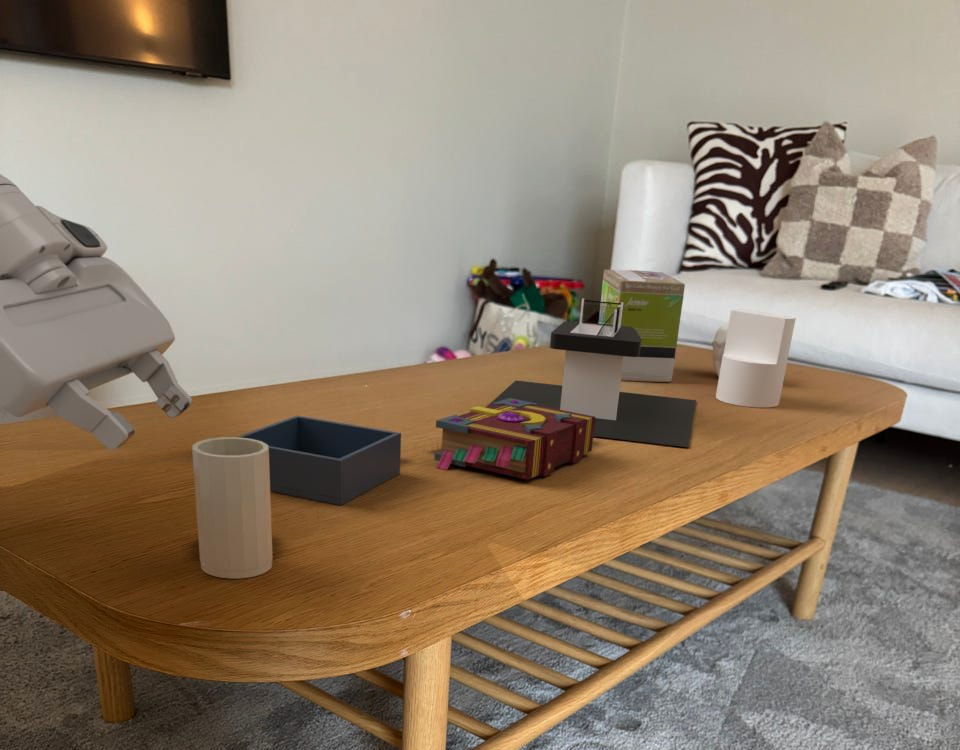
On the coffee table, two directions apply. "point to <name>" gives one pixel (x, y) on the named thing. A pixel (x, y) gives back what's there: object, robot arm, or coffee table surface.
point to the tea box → (646, 319)
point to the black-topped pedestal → (606, 384)
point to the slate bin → (328, 458)
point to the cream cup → (233, 506)
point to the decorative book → (515, 438)
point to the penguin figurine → (719, 346)
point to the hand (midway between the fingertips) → (155, 425)
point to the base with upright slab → (754, 358)
